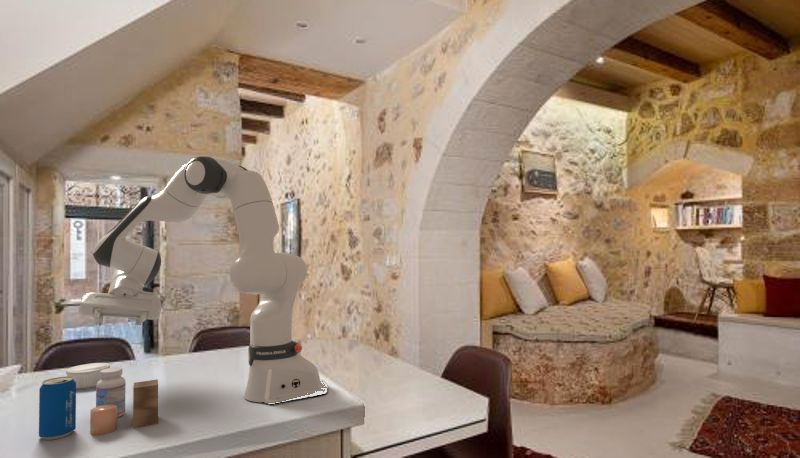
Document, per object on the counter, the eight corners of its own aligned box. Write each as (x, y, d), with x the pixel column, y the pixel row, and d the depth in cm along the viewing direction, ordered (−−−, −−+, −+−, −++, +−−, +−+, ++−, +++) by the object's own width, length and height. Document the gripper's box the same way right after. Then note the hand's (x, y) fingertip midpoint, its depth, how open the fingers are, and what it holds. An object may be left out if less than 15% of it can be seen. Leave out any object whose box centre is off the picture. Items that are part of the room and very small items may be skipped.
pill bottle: (93, 416, 111) (93, 369, 111) (121, 409, 115) (122, 365, 115) (98, 422, 106) (99, 374, 107) (128, 415, 111) (128, 369, 111)
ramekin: (89, 390, 132) (89, 372, 132) (55, 389, 133) (56, 371, 134) (118, 379, 143) (118, 362, 143) (87, 378, 144) (87, 362, 145)
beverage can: (55, 442, 96) (56, 384, 96) (30, 440, 97) (31, 383, 98) (82, 430, 102) (83, 376, 103) (59, 428, 103) (59, 375, 104)
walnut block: (157, 417, 109) (157, 379, 110) (158, 423, 105) (158, 384, 105) (133, 421, 107) (133, 382, 107) (133, 428, 103) (133, 388, 103)
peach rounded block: (119, 425, 105) (119, 403, 105) (113, 433, 100) (113, 410, 100) (94, 428, 103) (94, 406, 103) (87, 437, 98) (87, 413, 99)
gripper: (85, 283, 131) (75, 309, 120) (163, 290, 142) (161, 315, 130) (81, 302, 133) (72, 329, 122) (159, 308, 143) (157, 333, 132)
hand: (119, 322), depth 126 cm, fingers open, 8 cm apart
